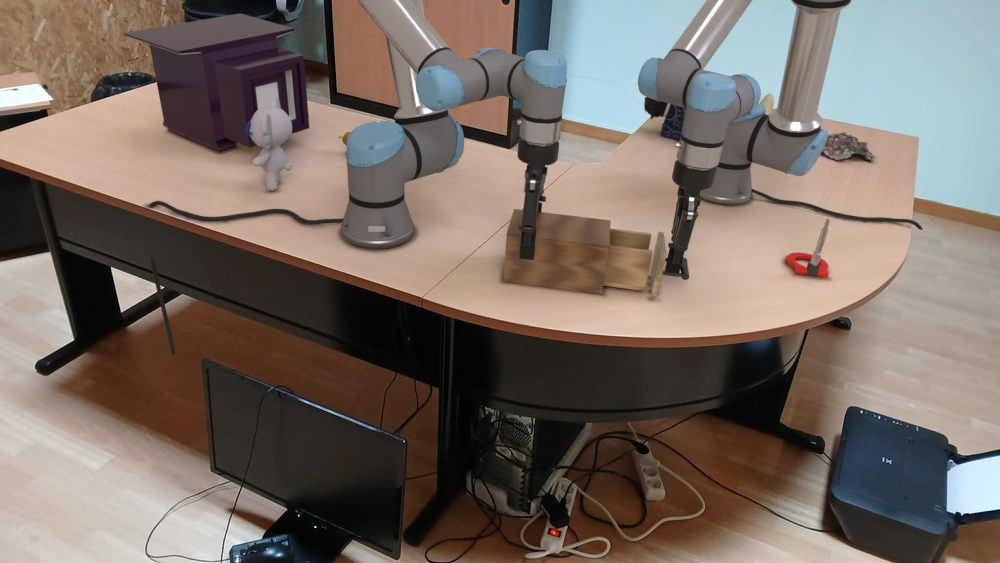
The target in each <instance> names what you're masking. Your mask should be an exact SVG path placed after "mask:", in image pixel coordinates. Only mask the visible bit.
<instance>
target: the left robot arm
mask: <svg viewBox="0 0 1000 563" xmlns="http://www.w3.org/2000/svg"><path fill="white" fill-rule="evenodd" d="M356 2H358V4H359V5H360V6H361V7H362V8H363V10H364V11H365V12H366V14H367V15H368V16H369V17H370V19H371V20H372V21H373V23H374V24H375V25H376V26H377V27H378V29H379V30H380V31H381V32H382V34H383V35H384V36H385V39H386V40H385V41H386V44H387V45H386V46H387V50H388V55H389V60H390V66H391V71H392V76H393V81H394V86H395V92H396V97H397V102H398V109H397V111H396V112H395V114H394V116H393V120H394V122H393V121H389V120H380V121H369V122H366V123H362V124H360V125H358V126H356V127H355V128H353V129H352V130H351V131H349V132H350V134H349V135H348V138H347V146H346V148H345V149H346V151H345V159H346V169H347V186H348V203H347V205H346V209H345V213H344V216H343V218H323V219H322V218H321V219H305V218H303V217H301V216H300V215H298V214H297V213H296V212H294V211H292V210H290V209H286V208H285V209H284V208H269V209H268V208H267V209H262V210H257V211H249V212H241V213H234V214H228V215H220V216H219V215H218V216H208V215H207V216H205V215H199V214H195V213H192V212H188V211H185V210H182V209H179V208H177V207H174V206H173V205H171V204H169V203H167V202H165V201H162V200H154V201H152V202H151V203H150V204H149V205H148V208H154V207H155V206H162V207H164V208H166V209H168V210H169V211H171V212H173V213H175V214H177V215H181V216H183V217H188V218H191V219H194V220H198V221H204V222H205V221H206V222H222V221H229V220H234V219H235V220H237V219H243V218H251V217H257V216H263V215H268V214H284V215H289V216H291V217H293V218H294V219H296V220H297V221H298V222H301V223H302V224H305V225H323V224H341V234H342V237H343V239H344V240H345V241H346V242H348V243H349V244H351V245H352V246H355V247H358V248H361V249H368V250H384V249H385V250H386V249H390V248H391V249H392V248H396V247H399V246H402V245H403V244H405V243H407V242H408V241H410V240H411V238H412V237H413V235H414V221H413V219H412V217H411V213H410V210H409V208H408V205H407V202H406V199H405V198H406V196H405V194H406V192H405V191H406V190H405V188H406V187H405V186H406V185H405V184H406V183H409V182H412V181H415V180H418V179H421V178H424V177H427V176H430V175H434V174H440V173H443V172H444V171H447V170H448V169H450V168H452V167H454V166H455V165H456V164H458V163H459V161H460V159H461V158H462V156H463V153H464V149H465V135H464V131H463V130H464V129H463V128H462V126H461V124H459V121H458V119H457V118H456V117H454V116H453V115H451V114H449V110H454V109H457V108H459V107H462V106H467V105H469V104H472V103H477V102H481V101H485V100H489V99H493V98H497V97H505V98H509V99H511V100H514V101H517V102H520V118H519V119H517V120H516V124H517V125H518V126H519V132H518V133H519V134H518V135H519V137H520V138H518V143H517V158H518V160H519V161H520V162H522V163H523V164H526V169H525V171H524V180H525V181H524V182H525V183H524V188H523V192H524V200H523V208H522V210H523V218H522V226H518V230H521V231H522V232H521V244H520V256H519V258H520V259H528V260H533V259H534V249H535V239H536V220H537V212H543V210H542V209H543V203H546V201H547V195H544V194H545V190H544V188H545V184H546V180H547V176H548V171H549V170H548V168H549V167H548V166H552V165H554V164H555V163H556V162H557V161H558V159H559V150H560V142H559V141H560V139H561V134H562V124H563V107H564V102H565V101H564V99H565V94H566V87H567V82H568V78H567V73H568V71H567V70H568V61H567V58H566V57H565V55H564V54H562V53H560V52H557V51H553V50H546V49H535V50H531V51H530V50H529V51H528V52H527V53H526V54H525V56H524V57H523V56H520V55H517V54H514V53H511V52H508V51H506V50H503V49H501V48H494V47H482V48H481V49H479V50H478V52H476V53H475V54H474V55H473V56H472V57H471V58H465V59H460V58H459V57H458V56H457V54H456V53H455V52H454V51H453V50H452V49H451V48H450V46H449V45H448V44H447V42H445V40H444V39H443V38H442V36H441V35H440V34H439V33H438V31H437V30H436V29H435V28H434V27H433V26H432V24H431V23H430V22H429V21H428V20H427V19H426V16H425V12H424V6H423V0H356ZM149 259H150V264H151V268H152V269H151V270H152V274H153V279H154V285H155V288H156V292H157V296H158V300H159V305H160V309H161V313H162V318H163V321H164V325H165V330H166V334H167V339H168V343H169V349H170V353H171V356H175V355H176V348H175V343H174V339H173V334H172V329H171V324H170V321H169V317H168V312H167V308H166V304H165V300H164V296H163V292H162V287H161V283H160V279H159V274H158V268H157V263H156V260H155V259H154V258H153V257H151V256H150V258H149Z"/></svg>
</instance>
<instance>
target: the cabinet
mask: <svg viewBox="0 0 1000 563" xmlns="http://www.w3.org/2000/svg"><path fill="white" fill-rule="evenodd" d="M522 218H523V209H521V208H520V209H519V208H514V209H513V211H512V213H511V218H510V220H509V225H508V228H507V231H506V240H505V253H504V254H505V255H504V266H503V283H510V284H511V283H512V284H519V285H527V286H534V287H541V288H548V289H549V288H550V289H556V290H557V289H558V290H565V291H572V292H579V293H580V292H581V293H587V294H594V295H595V294H597V295H603V290H604V286H603V284H604V278H605V271H606V265H607V259H608V252H609V246H610V228H611V223H612V222H611V221H612V220H611V219H605V218H604V219H602V218H595V217H594V218H593V217H587V216H578V215H577V216H576V215H569V214H562V213H561V214H560V213H552V212H543V211H541V212H537V220H536V239H535V249H534V259H533V260H528V259H520V258H519V256H520V244H521V232H522V231H521V230H518V226H522Z"/></svg>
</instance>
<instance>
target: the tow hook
mask: <svg viewBox="0 0 1000 563" xmlns="http://www.w3.org/2000/svg"><path fill="white" fill-rule="evenodd" d="M830 222H831V219H830V218H826V219H825V222H824V225H823V227H822V228H821V231H820V234H819V236H818V240H817V244H816V247H815V250H814V252H813V253H812V254H811V253H807V252H791V253H789V254H788V255H787V256H786V262H787V264H788V265H789V266H790V267H791V268H793V269H794V273H795V274H799V275H806V276H811V277H821V278H828V277H829V274H830V272H829V270H828V269H829V264H828V263H827V261H825V260H824V259H823V258H821V257H822V251H823V247H824V244H825V241H826V238H827V235H828V232H829V225H830ZM798 259H803V260H808V262H807V264H806V266H805V265H803V264H800V263H799V262H797V261H796V260H798Z"/></svg>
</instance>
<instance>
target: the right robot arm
mask: <svg viewBox="0 0 1000 563" xmlns="http://www.w3.org/2000/svg"><path fill="white" fill-rule="evenodd" d="M790 1H791V2H792V4H793V5H794V6H795V7H796V8H795V14H794V18H793V23H792V29H791V34H790V40H789V44H788V50H787V54H786V55H787V56H786V59H785V60H786V61H785V65H784V71H783V77H782V80H781V86H780V90H779V97H778V102H777V107H775V108H773V110H772V111H771V112H770V114H769V115H766V114H765V112H766V109H765V106H763V105H761V104H760V102H761V98H762V97H761V96H762V91H761V90H762V89H761V86H760V84H759V83H758V81H757V79H756V78H754V76H751V75H749V74H746V73H736V74H733V75H726V74H723V73H719V72H714V71H710V70H706V69H705V68H706V66H707V65H708V64H709V62H710V61H711V60H712V58H713V57H714V56H715V54H716V52H717V51H718V50H719V48H720V47H721V45H722V44H723V42H725V40H726V39H727V37H728V35H729V34H730V33H731V31H732V30H734V27H735V26H736V25H737V23H738V22H739V21H740V19H741V17H742V16H743V15H744V13H745V12H746V10H747V9H748V7H749V6H750V5H751V4H752V2H753V0H706V1H705V2H704V3H703V4H702V5H701V8H699V10H698V12H696V14H695V15H694V16H693V18H692V20H691V21H690V22H689V24H688V25H687V27H686V28H685V29H684V31H683V32H682V33H681V35H680V36H679V38H677V40H676V42H675V43H674V44H673V46H672V47H671V49H669V51H668V53H667V54H666V55H665V57H664V58H662V57H650V58H649V59H646V61H644V63H643V64H642V66H641V68H640V70H639V73H638V77H637V86H638V91H639V93H640V94H641V95H642V96H643V97H649V98H651V99H654V100H657V101H659V102H660V101H662V102H665V103H669V104H673V105H677V106H680V107H684V108H686V112H685V117H684V122H683V127H682V132H681V136H680V137H681V138H680V140H679V142H675V145H674V147H675V148H676V149H677V153H676V160H675V161H674V165H673V169H672V174H671V179H672V182H673V183H674V184H676V186H678V187H677V193H676V196H677V199H676V204H675V211H674V216H673V221H672V228H671V231H670V233H671V237H670V240H671V242H668V244H667V247H668V248H669V249H668V253H667V257H666V258H667V262H665V266H664V271H668V272H676V273H681V270H680V269H681V265H682V260H683V257H684V255H685V252H687V251H688V249H689V244H690V242H691V241H690V240H691V237H692V235H693V230H694V227H695V223H696V221H697V218H698V217H699V212H698V209H699V206H700V205H701V201H702V200H704V201H707V202H710V203H713V204H717V205H726V206H727V205H729V206H734V205H742V204H745V203H747V202H749V201H750V199H751V197H752V194H755V195H758V196H760V197H763V198H764V199H767V200H769V201H772V202H774V203H779V204H787V205H796V206H802V207H807V208H810V209H813V210H815V211H819V212H821V213H824V214H828V215H831V216H835V217H840V218H843V219H844V218H845V219H848V220H849V219H850V220H855V221H865V222H891V223H907V224H911V225H914V226H915V227H916V228H917V229H918V230H920V231H923V230H924V229H923V226H922V225H921V224H920V223H918V222H917V221H915V220H913V219H909V218H895V217H894V218H893V217H880V216H878V217H877V216H875V217H874V216H873V217H868V216H858V215H852V214H846V213H842V212H836V211H833V210H829V209H826V208H823V207H820V206H817V205H814V204H812V203H808V202H804V201H798V200H788V199H787V200H786V199H779V198H776V197H773V196H771V195H769V194H767V193H763V192H762V191H759V190H757V189H754V188H753V186H752V174H751V167H752V163H753V164H756V165H759V166H762V167H766V168H768V169H771V170H772V169H773V170H775V171H779V172H781V173H784V174H785V175H788V174H789V175H792V176H796V177H803V176H806V175H807V174H808V173H809V172H810V171H812V169H813V167H814V166H815V164H816V163H817V161H818V160H819V157H820V156H821V154H822V153H823V152H822V150H823V148H824V146H825V143H826V141H827V137H828V135H829V133H828V130H825V129H824V128H821V127H822V124H823V118H822V116H821V114H819V112H818V111H819V105H820V102H821V97H822V92H823V88H824V84H825V80H826V76H827V71H828V68H829V67H828V66H829V62H830V58H831V53H832V50H833V46H834V41H835V37H836V32H837V28H838V24H839V20H840V17H841V16H840V15H841V11H842V10H843V9H845V8H847V7H848V6H849V5H850V4H851V3H852V0H790ZM665 276H667V277H669V276H668V275H665ZM673 277H674V278H677V277H676V276H673Z"/></svg>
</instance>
